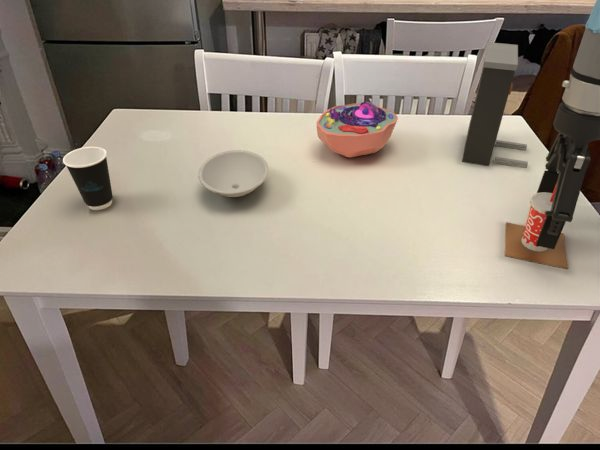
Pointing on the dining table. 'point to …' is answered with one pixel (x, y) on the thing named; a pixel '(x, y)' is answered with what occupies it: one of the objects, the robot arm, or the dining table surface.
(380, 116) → the cell model
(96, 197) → the dixie cup
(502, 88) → the coffee machine
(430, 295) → the dining table surface
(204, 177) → the dish
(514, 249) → the cork coaster
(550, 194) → the beverage cup
